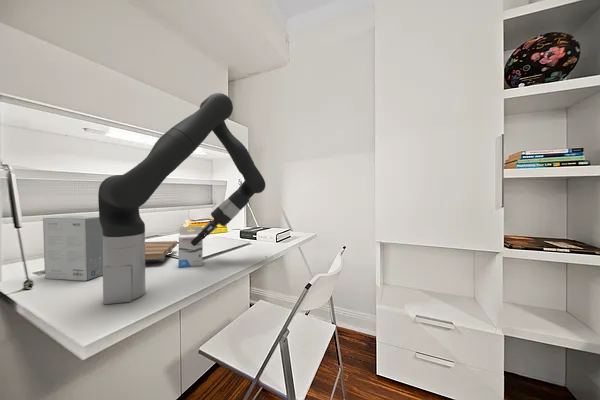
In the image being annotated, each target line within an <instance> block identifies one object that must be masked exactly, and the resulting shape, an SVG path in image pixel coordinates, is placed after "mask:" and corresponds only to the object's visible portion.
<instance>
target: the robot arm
mask: <svg viewBox="0 0 600 400" xmlns="http://www.w3.org/2000/svg"><path fill="white" fill-rule="evenodd" d="M233 110H234V105H233V102H232V99H231V98H230V97H229V96H228V95H226V94H225V93H222V92H215V93H212V94H210V95H209V96H208V97H207V98H205V99H204V100H202V102H201V103H200V105H199V109H198V110H196V111H195V112H194V113H192V114H190V115H189V116H187V117H185V118H184V119H182V120H181V121H179V122H178V123H177V124H175V125H173V126H172V127H171V128H170V129H168V130H167V131H166V132H165V133H164V134H163V135H161V136H160V137H159V138H158V139H157V140H156V141H155V143H154V145H153V146H152V148H151V149H150V152H149V153H148V154H147V156H146V157H145V158H144V159H143V160H142V161H140V163H138V164H137V165H135V166H134V167H133V168H131V169H130V170H128V171H127V172H125V173H123V174H114V175H111V176H107V177H106V178H105V179H103V181H101V182H100V184H99V188H98V195H97V196H98V197H97V198H98V203H97V204H98V216H99V220H100V224H101V227H102V232H103V275H102V296H103V297H102V301H103V302H102V303H103V305H110V304H112V305H113V304H120V303H121V304H123V303H131V302H132V301H134V300H136V299H138V298H140V297H143V296H144V295H145V293H146V291H147V290H146V263H145V242H146V224H145V222H144V221H143V219H142V217H141V215H140V207H141V206H143V205H144V204H146V202H147V201H149V199H150V198H151V196H152V195H154V194H155V191H156V190H157V189H158V188H159V186H160V185H161V184H162V183H163V182H164V181H165V179H166V178H167V177H168V176H169V175H170V174H171V173H173V172H174V171H175V170H176V169H177V168H178V167H179V166H180V165H182V163H183V162H184V161H185V160H187V159H188V158H189V157H190V156H191V155H193V154H192V153H194V152H195V151H196V150H197V149H198V148H199V147H200V145H201V144H202V143H203V142H204V140H205V139H206V138H207V137H208V136H209V135H210V133H212V132H213V134H214V135H215V136H216V138H217V139H218V140H219V141H220V143H221V145H223V147H224V148H225V150H226V151H227V153H228V155H229V156H230V158H231V160H232V162H233V163H234V165H235V167H236V169H237V171H238V172H239V173H240V174H241V176H242V177H243V179H244V181H243V182H242V183H241V185H240V186H238V187H237V189H236V190H235V191H234V192H232V193H231V195H230V196H229V197H227V198H226V199H225V200H224V201H222V202H221V203H220V204H219V205H218V206H217V207H216V208H215V209H214V210H213V211H212V212H210V213H211V214H210V216H211V217H212V218H213V219H212V220H209V221H208V222H207V223H206V224H205V225H204V226H203V227H202V231H201V232H200V233H199V234H198V236H197V237H195V238H194V239H193V240H192V241H191V244H192V245H193V246H196V245H197V244H198V243H199V242H200V241H201V240H202V239H203V240H204V239H205V238H206V237H208V236H209V235H210V234H211V233H213V232H215V230H217V229H218V225H220V226H222V227H226V225H228V224H229V223H230V222H231V221H232V220H233V219H234V218H235V217H236V216H237V215H238V214H239V213H240V211H241V210H242V209H243V208H244V207H246V206H247V205H248V203H249V202H250V199H251V198H252V196H254V195H255V194H260V193H262V192H264V191H265V189H266V181H265V179H264V177H263V175H262V173H261V172H260V171H259V169H258V168H257V166H256V164H255V163H254V160H253V158H252V157H251V154H250V152H249V151H248V149H247V147H246V146H245V145H244V144H243V143H242V142H241V141H240V140H239V139H237V137H236V136H235V135H233V133H232V132H231V131H230V129H229V128H228V126H227V124H226V122H225V121H226V120H228V119H229V118H230V117H231V116H232V113H233Z"/></svg>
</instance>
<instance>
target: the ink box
mask: <svg viewBox="0 0 600 400" xmlns="http://www.w3.org/2000/svg"><path fill="white" fill-rule="evenodd" d="M202 229H203V227H202V226H201V225H199V226H198V225H197V226H180V227H179V235H178V250H177V252H178V254H177V256H178V258H177V259H178V261H177V262H178V263H177V264H178V268H186V267H197V266H203V246H204V245H203V243H204V242H203V240H204V239H202V240H201V241H200V242H199V243H198V244H197V245H196V246H193V245H192V244H191V241H192V240H193V239H194V238H195V237H197V236H198V234H199V233H200V232H201V231H202Z"/></svg>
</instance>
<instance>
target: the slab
mask: <svg viewBox="0 0 600 400" xmlns="http://www.w3.org/2000/svg"><path fill="white" fill-rule="evenodd" d="M177 246H178V240H169V241H168V240H165V241H145V259H162V258H163V257H164V256H165V257H166V256H168V255H167V254H168V253H169V252H170V251H171V250H172V251H173V249H175V248H176V247H177Z"/></svg>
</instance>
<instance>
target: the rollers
mask: <svg viewBox="0 0 600 400" xmlns="http://www.w3.org/2000/svg"><path fill="white" fill-rule="evenodd" d="M171 252H172V253H173V249H172V250H171V251H170V252H169V253H171ZM165 261H166V256H164V257H163V258H162V259H145V264H149V263H150V264H151V263H164V262H165Z"/></svg>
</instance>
